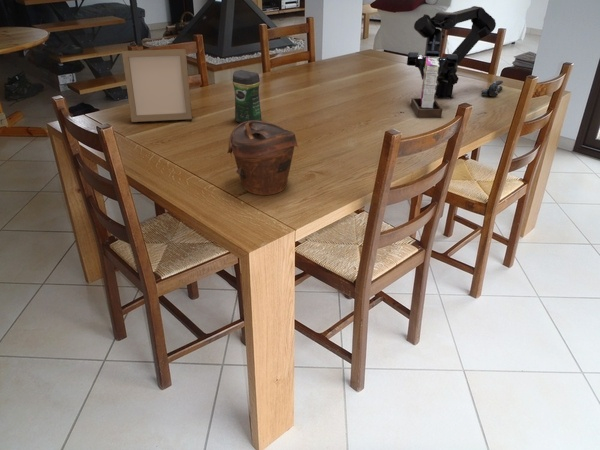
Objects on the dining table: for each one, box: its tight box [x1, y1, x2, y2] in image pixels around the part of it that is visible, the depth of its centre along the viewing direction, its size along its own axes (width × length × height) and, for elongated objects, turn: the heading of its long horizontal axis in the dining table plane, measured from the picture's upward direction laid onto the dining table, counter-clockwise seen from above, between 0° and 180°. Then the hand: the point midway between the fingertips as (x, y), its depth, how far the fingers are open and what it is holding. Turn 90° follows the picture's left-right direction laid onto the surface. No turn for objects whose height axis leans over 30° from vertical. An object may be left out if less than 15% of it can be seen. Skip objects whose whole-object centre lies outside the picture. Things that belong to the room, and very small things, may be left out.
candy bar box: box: [420, 58, 439, 109], centre depth 192 cm, size 11×5×16 cm, turn 169°
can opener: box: [480, 80, 504, 97], centre depth 218 cm, size 18×7×6 cm, turn 143°
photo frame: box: [121, 48, 193, 123], centre depth 185 cm, size 15×22×25 cm
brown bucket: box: [227, 120, 299, 196], centre depth 139 cm, size 18×20×18 cm
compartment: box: [410, 97, 443, 119], centre depth 197 cm, size 9×14×3 cm, turn 0°
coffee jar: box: [232, 69, 262, 124], centre depth 183 cm, size 10×8×19 cm
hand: (429, 79), depth 193 cm, fingers closed on candy bar box, 5 cm apart
